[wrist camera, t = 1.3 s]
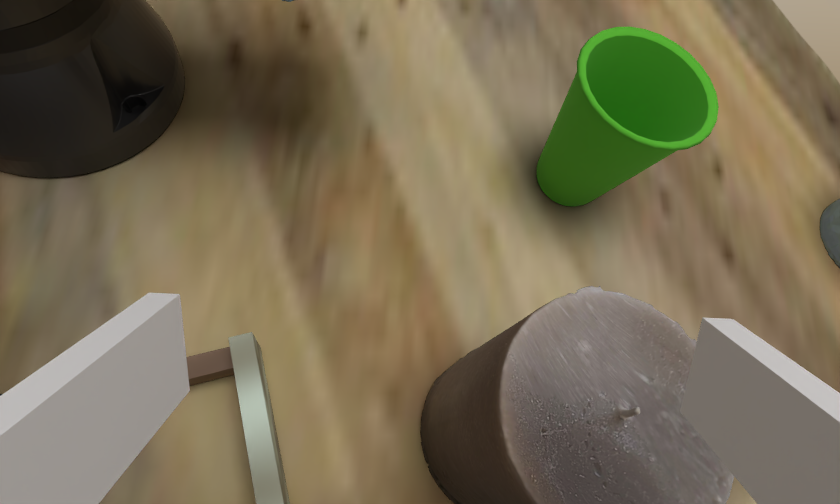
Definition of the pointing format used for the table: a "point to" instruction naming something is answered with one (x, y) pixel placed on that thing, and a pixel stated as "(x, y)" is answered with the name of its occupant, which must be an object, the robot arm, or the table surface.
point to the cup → (624, 114)
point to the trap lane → (248, 410)
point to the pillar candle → (573, 412)
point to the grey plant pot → (831, 230)
